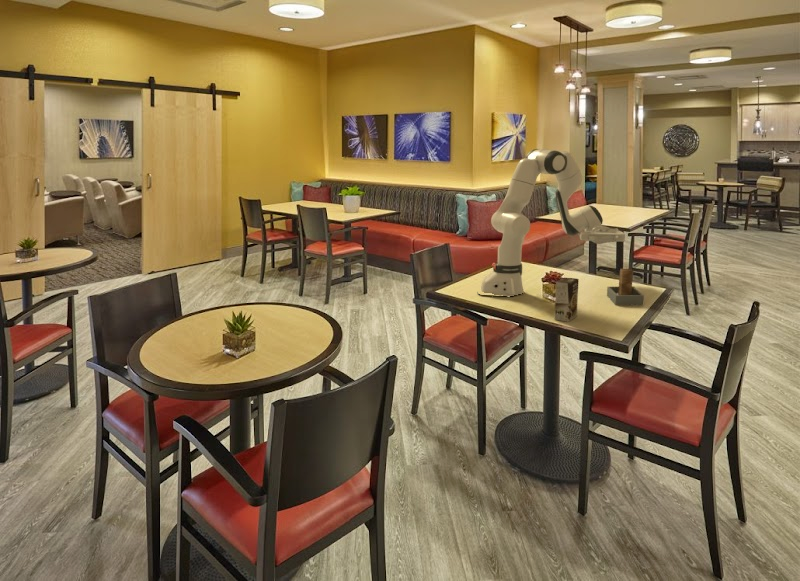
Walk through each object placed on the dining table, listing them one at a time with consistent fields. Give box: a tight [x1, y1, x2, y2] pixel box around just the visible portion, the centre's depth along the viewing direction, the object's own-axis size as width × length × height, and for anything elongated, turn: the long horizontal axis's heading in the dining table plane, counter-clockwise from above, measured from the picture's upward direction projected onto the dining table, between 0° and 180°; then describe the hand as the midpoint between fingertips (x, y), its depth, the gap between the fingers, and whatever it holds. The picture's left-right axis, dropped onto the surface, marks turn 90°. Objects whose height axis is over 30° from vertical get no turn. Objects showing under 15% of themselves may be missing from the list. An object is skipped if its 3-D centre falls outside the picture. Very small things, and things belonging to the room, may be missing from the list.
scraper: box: [616, 268, 634, 295], centre depth 250 cm, size 5×9×13 cm, turn 173°
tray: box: [606, 285, 645, 306], centre depth 251 cm, size 12×16×4 cm
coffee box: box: [553, 277, 579, 323], centre depth 228 cm, size 9×6×16 cm
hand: (605, 239), depth 259 cm, fingers open, 8 cm apart
